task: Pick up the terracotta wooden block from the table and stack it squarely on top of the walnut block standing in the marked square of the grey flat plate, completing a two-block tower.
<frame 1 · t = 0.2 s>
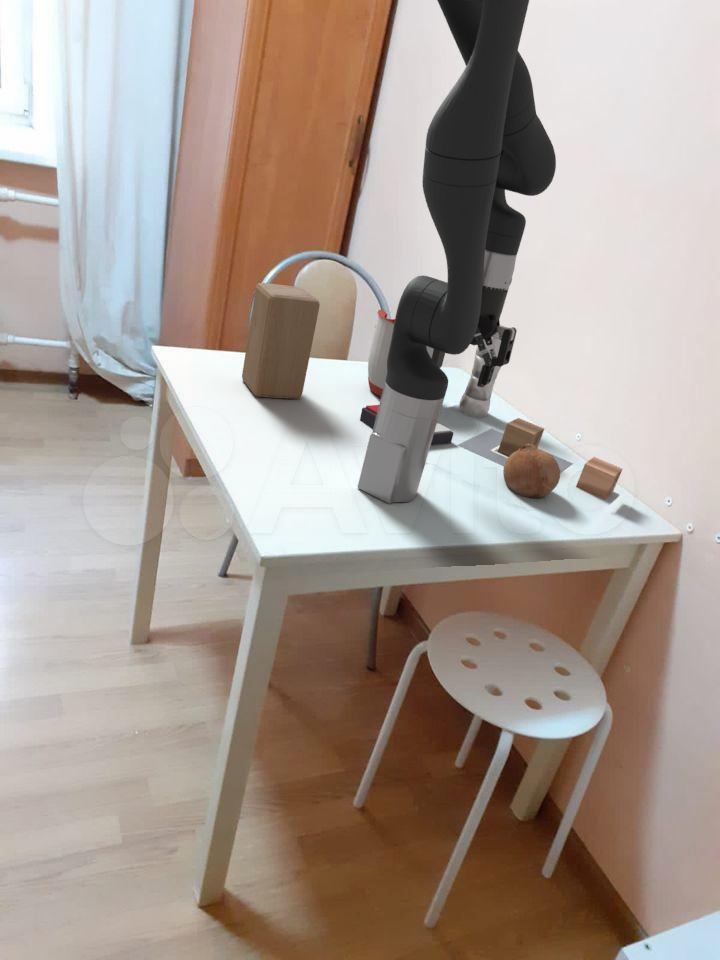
hand: (458, 376, 118), 17 cm above the table, tool pointing down, fingers open, 8 cm apart
plastic bottle: (470, 417, 156), on the table
wooden block: (270, 390, 143), on the table
grey flat plate: (514, 459, 138), on the table
terracotta block: (592, 495, 132), on the table
walnut block: (516, 454, 138), point 1 cm above the table, touching grey flat plate
onion: (523, 496, 125), on the table
calculator: (403, 436, 138), on the table
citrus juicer: (391, 393, 158), on the table
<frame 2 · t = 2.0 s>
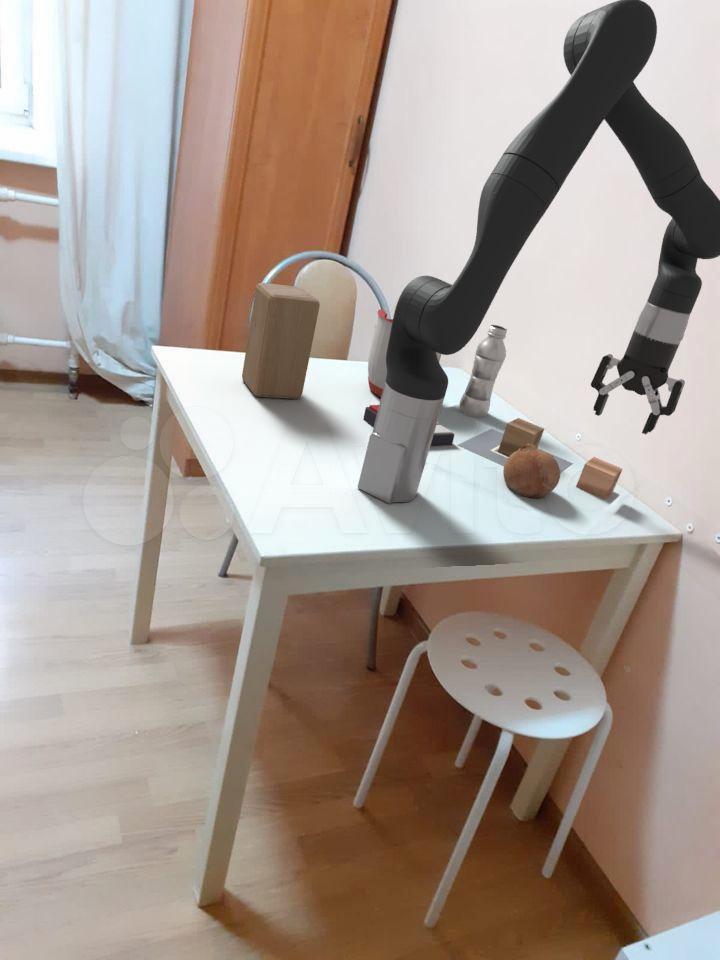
hand: (621, 423, 126), 14 cm above the table, tool pointing down, fingers open, 8 cm apart
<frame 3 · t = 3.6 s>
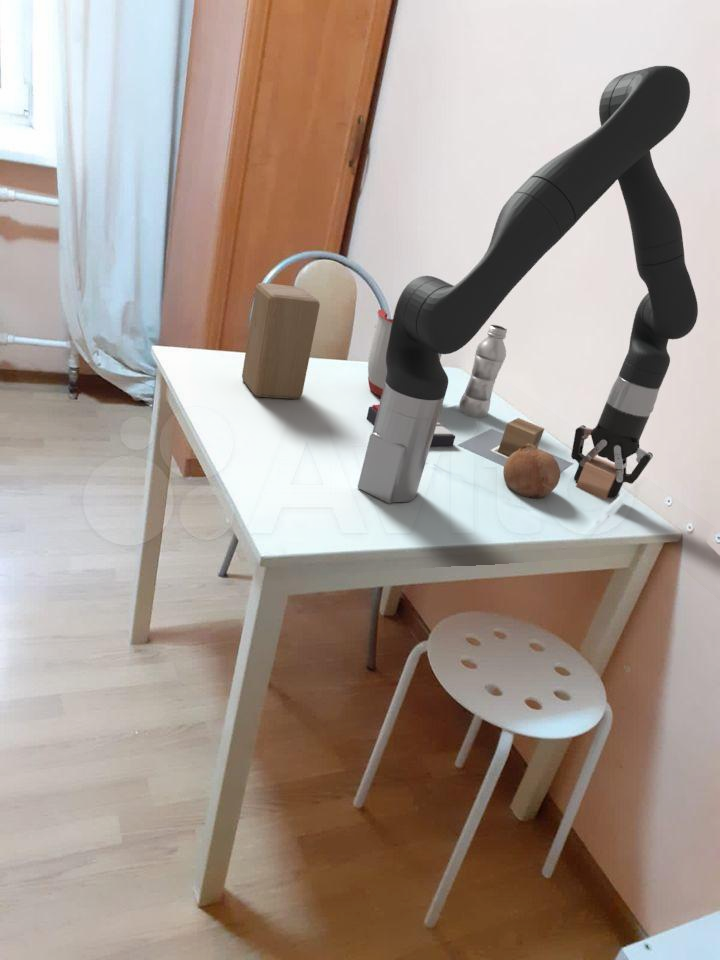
hand: (594, 490, 131), 1 cm above the table, tool pointing down, fingers closed on terracotta block, 5 cm apart
terracotta block: (592, 494, 132), on the table, touching gripper
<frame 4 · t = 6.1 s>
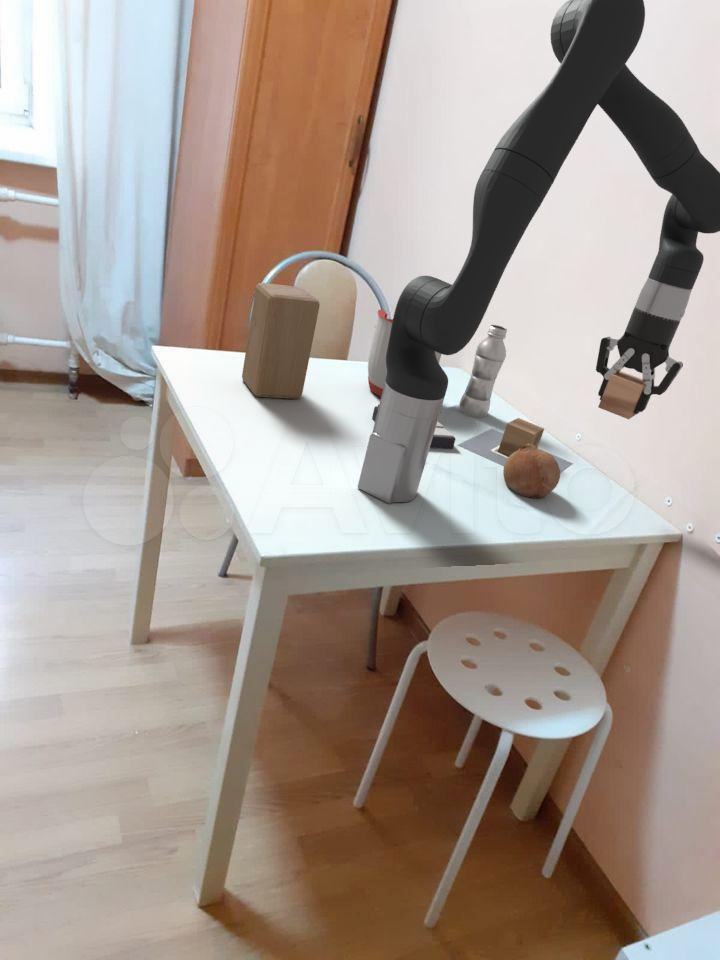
hand: (619, 405, 124), 17 cm above the table, tool pointing down, fingers closed on terracotta block, 5 cm apart
terracotta block: (617, 410, 125), point 16 cm above the table, touching gripper
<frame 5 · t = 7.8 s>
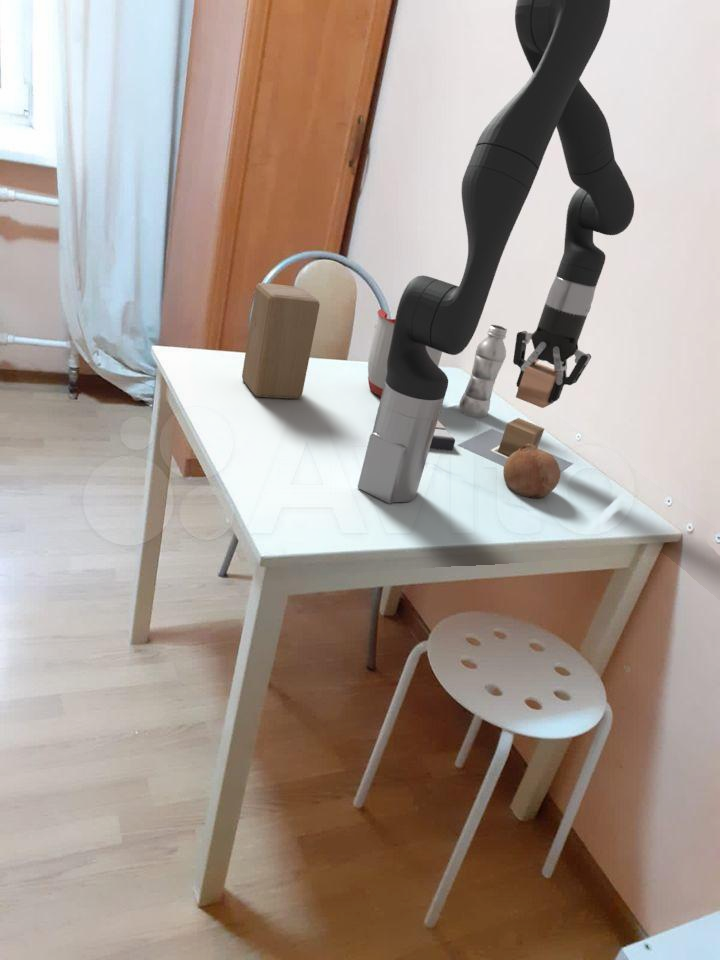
hand: (536, 395, 133), 13 cm above the table, tool pointing down, fingers closed on terracotta block, 5 cm apart
terracotta block: (534, 400, 133), point 12 cm above the table, touching gripper
when the fingers open (10 cm above the table, at t = 8.9 s): terracotta block drops 2 cm, resting on walnut block.
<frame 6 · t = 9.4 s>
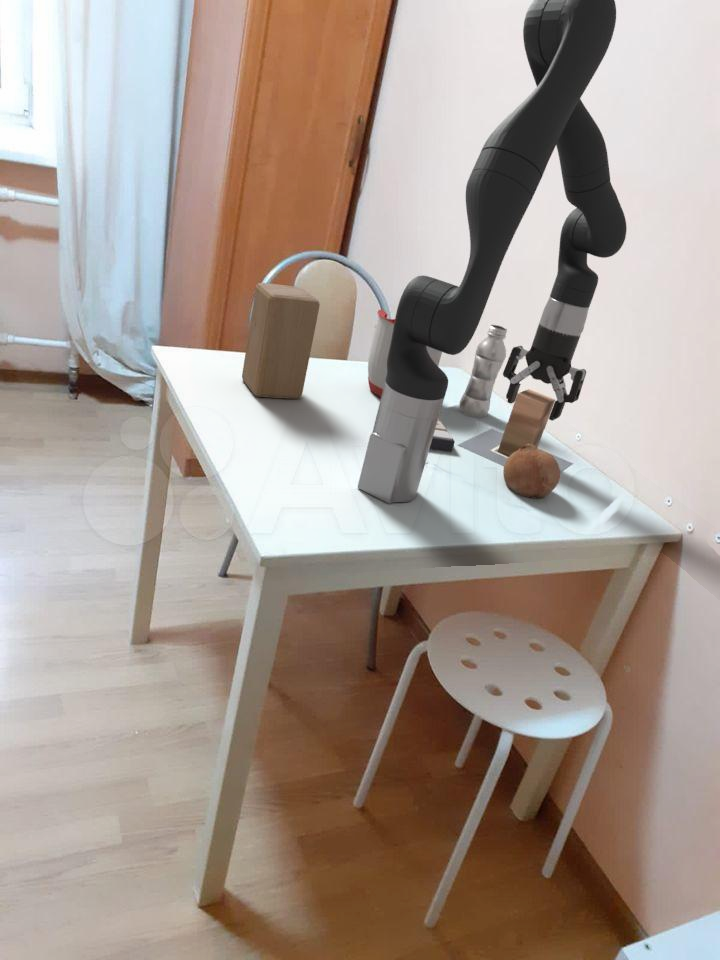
hand: (531, 410, 134), 10 cm above the table, tool pointing down, fingers open, 8 cm apart
terracotta block: (526, 426, 135), point 7 cm above the table, touching walnut block
walnut block: (516, 454, 138), point 1 cm above the table, touching grey flat plate, terracotta block
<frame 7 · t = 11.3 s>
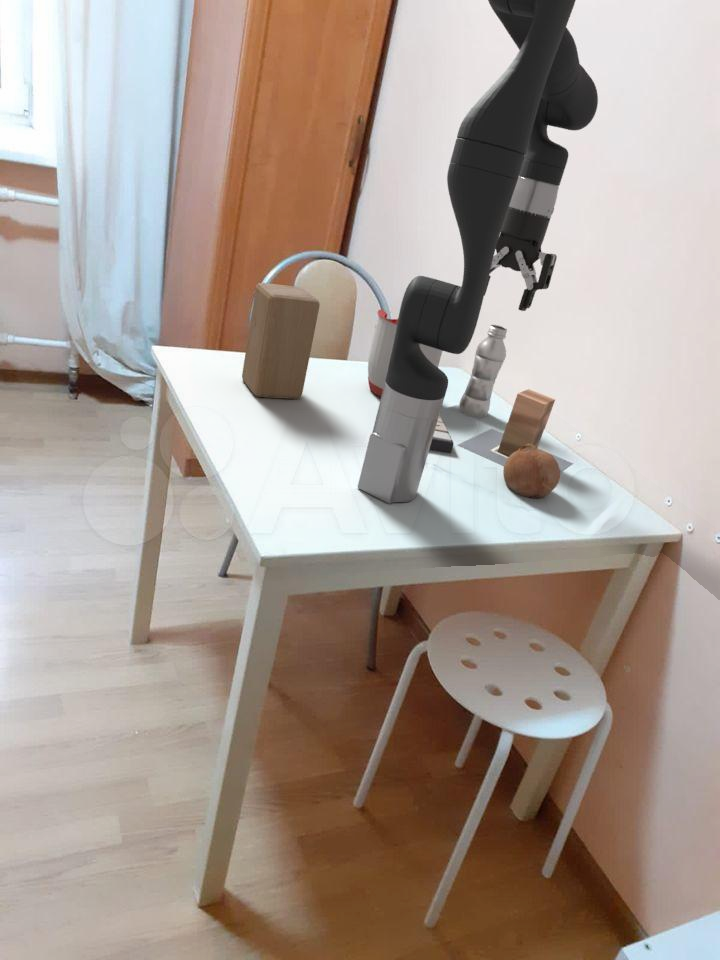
hand: (501, 302, 129), 28 cm above the table, tool pointing down, fingers open, 8 cm apart
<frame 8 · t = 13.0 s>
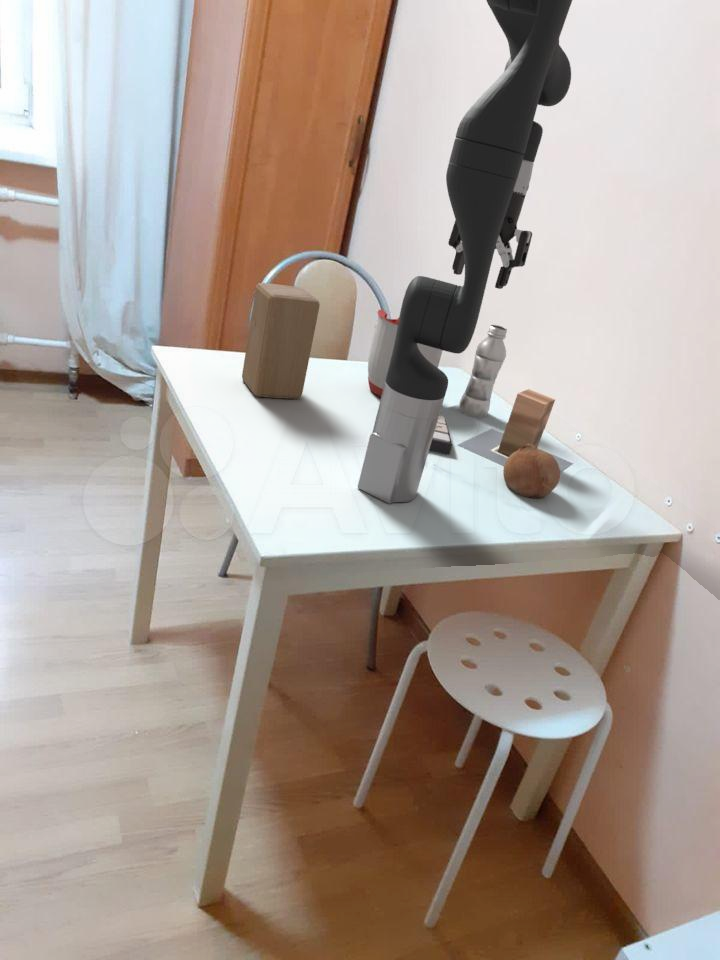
hand: (477, 281, 129), 30 cm above the table, tool pointing down, fingers open, 8 cm apart
at the end: terracotta block 0.1 cm off-centre on the walnut block, point 6.0 cm above the walnut block's base; terracotta block tilted 0°; walnut block moved 0.0 cm from its start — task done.
